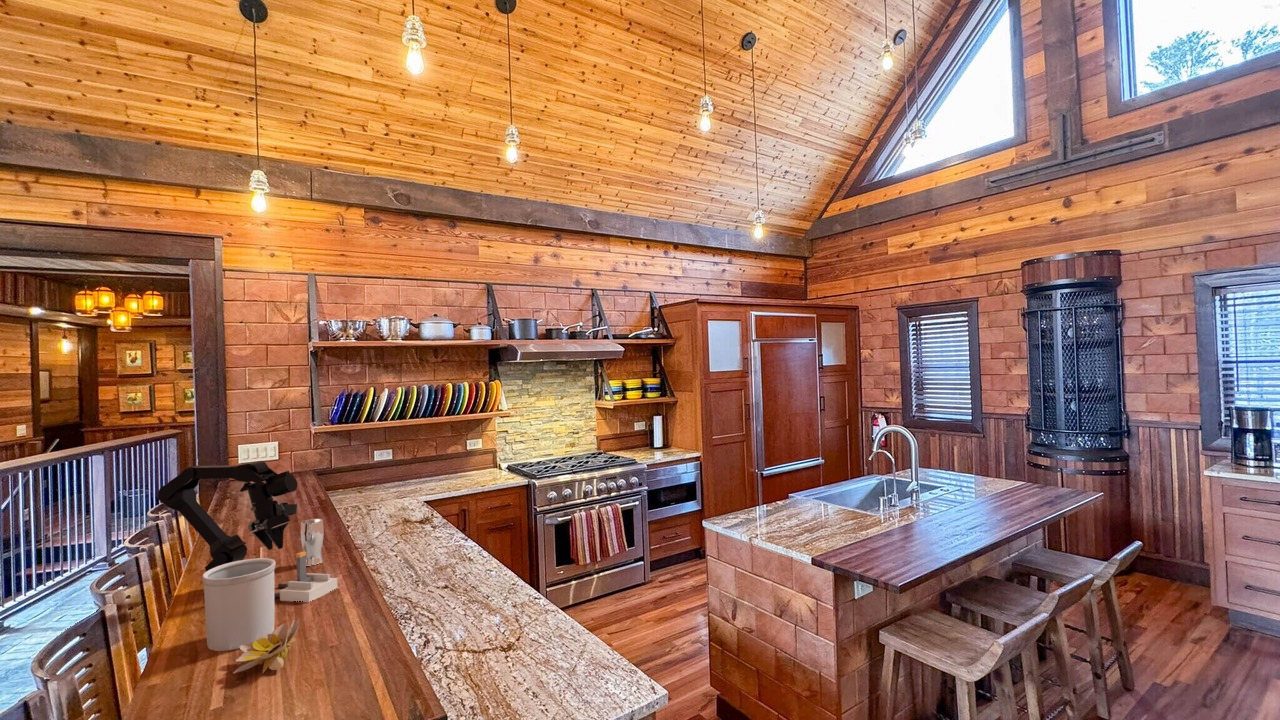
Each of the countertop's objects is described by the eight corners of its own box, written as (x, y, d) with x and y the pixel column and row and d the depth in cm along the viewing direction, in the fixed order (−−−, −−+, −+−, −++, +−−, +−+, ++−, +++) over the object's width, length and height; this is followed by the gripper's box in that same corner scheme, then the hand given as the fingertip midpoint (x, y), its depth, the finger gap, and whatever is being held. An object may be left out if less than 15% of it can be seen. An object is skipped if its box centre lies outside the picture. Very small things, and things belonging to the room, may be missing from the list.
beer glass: (316, 567, 190) (315, 523, 190) (296, 567, 190) (296, 523, 190) (328, 560, 197) (327, 518, 197) (309, 560, 197) (308, 518, 197)
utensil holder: (238, 655, 129) (237, 579, 129) (186, 650, 132) (186, 577, 132) (290, 626, 143) (289, 559, 144) (242, 623, 146) (242, 556, 147)
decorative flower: (243, 645, 130) (254, 603, 130) (297, 647, 134) (307, 606, 134) (221, 682, 116) (233, 635, 116) (282, 683, 120) (293, 637, 120)
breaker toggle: (290, 585, 164) (290, 555, 164) (304, 579, 169) (303, 550, 169) (299, 586, 163) (298, 555, 163) (312, 579, 168) (312, 550, 168)
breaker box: (253, 598, 163) (253, 582, 163) (284, 584, 174) (284, 569, 174) (309, 602, 159) (309, 585, 159) (337, 587, 170) (337, 572, 170)
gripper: (301, 489, 173) (314, 537, 173) (280, 494, 185) (293, 539, 184) (260, 502, 164) (274, 552, 164) (241, 506, 176) (254, 554, 175)
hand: (275, 549), depth 172 cm, fingers open, 9 cm apart
